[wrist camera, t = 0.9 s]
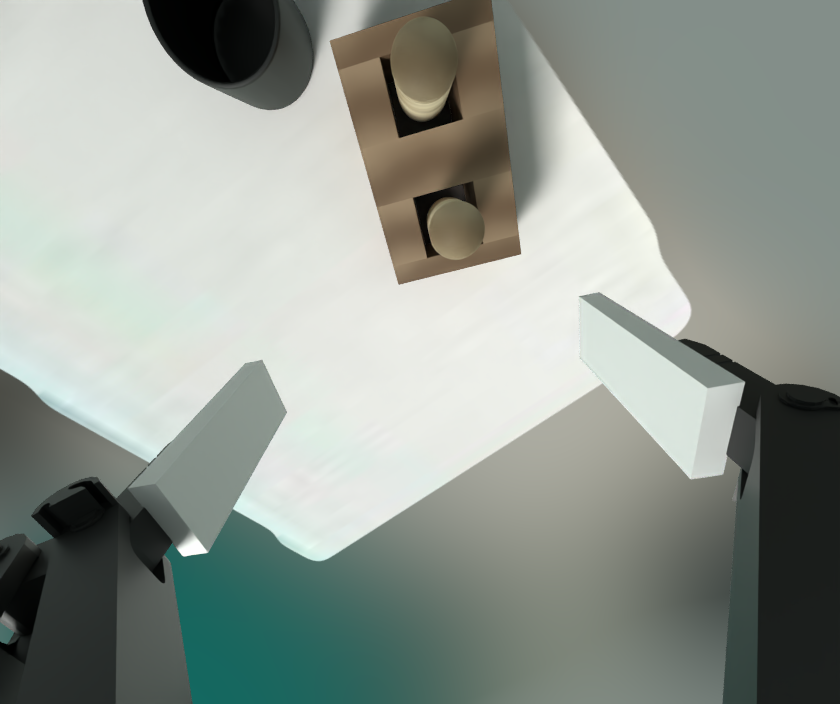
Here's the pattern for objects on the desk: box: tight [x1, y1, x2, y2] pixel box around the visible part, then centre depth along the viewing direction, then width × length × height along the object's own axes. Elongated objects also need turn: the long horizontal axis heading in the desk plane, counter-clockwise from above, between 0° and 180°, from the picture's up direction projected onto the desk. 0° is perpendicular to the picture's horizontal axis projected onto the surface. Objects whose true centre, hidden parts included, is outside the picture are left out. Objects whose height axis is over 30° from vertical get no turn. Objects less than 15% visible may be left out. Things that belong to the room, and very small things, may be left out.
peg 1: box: [390, 17, 458, 122], centre depth 24 cm, size 4×4×8 cm
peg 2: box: [427, 197, 485, 260], centre depth 29 cm, size 4×4×8 cm
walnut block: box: [330, 0, 521, 284], centre depth 33 cm, size 19×12×8 cm, turn 14°
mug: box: [143, 0, 313, 110], centre depth 28 cm, size 9×12×9 cm
